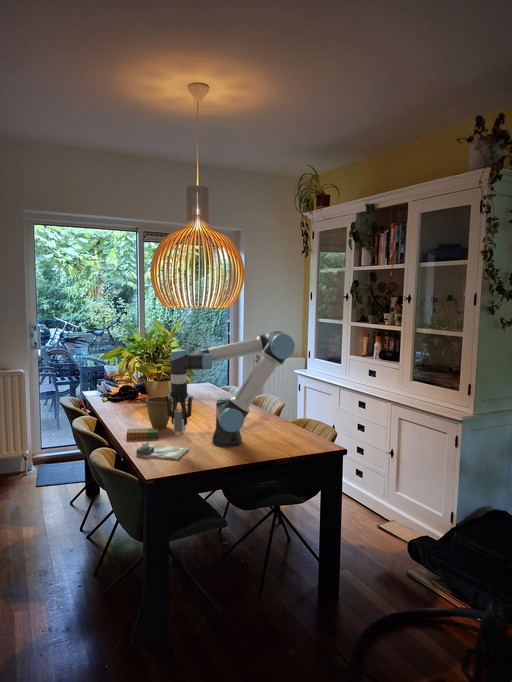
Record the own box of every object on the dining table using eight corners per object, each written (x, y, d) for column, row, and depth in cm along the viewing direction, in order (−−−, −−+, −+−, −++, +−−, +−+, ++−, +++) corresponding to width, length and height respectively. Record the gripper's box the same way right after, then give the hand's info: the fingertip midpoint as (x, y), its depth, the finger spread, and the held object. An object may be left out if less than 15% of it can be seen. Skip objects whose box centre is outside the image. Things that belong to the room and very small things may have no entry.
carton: (127, 436, 262) (127, 428, 261) (158, 435, 265) (158, 427, 264) (126, 441, 254) (126, 432, 253) (158, 439, 257) (158, 431, 256)
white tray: (188, 450, 241) (188, 444, 240) (177, 460, 226) (177, 454, 226) (149, 446, 245) (149, 440, 244) (136, 456, 230) (136, 449, 230)
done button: (149, 448, 234) (149, 442, 233) (147, 450, 231) (147, 444, 230) (143, 448, 234) (143, 441, 234) (140, 450, 231) (140, 443, 231)
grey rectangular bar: (184, 433, 238) (184, 409, 236) (181, 435, 234) (181, 410, 233) (177, 433, 238) (177, 408, 237) (174, 435, 235) (174, 410, 234)
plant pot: (156, 433, 267) (156, 403, 266) (140, 427, 277) (140, 399, 276) (178, 427, 278) (179, 399, 276) (162, 422, 288) (162, 395, 286)
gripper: (198, 381, 235) (198, 430, 238) (165, 380, 239) (166, 427, 241) (193, 384, 228) (193, 434, 231) (159, 383, 232) (159, 432, 234)
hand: (179, 431), depth 236 cm, fingers closed on grey rectangular bar, 3 cm apart
